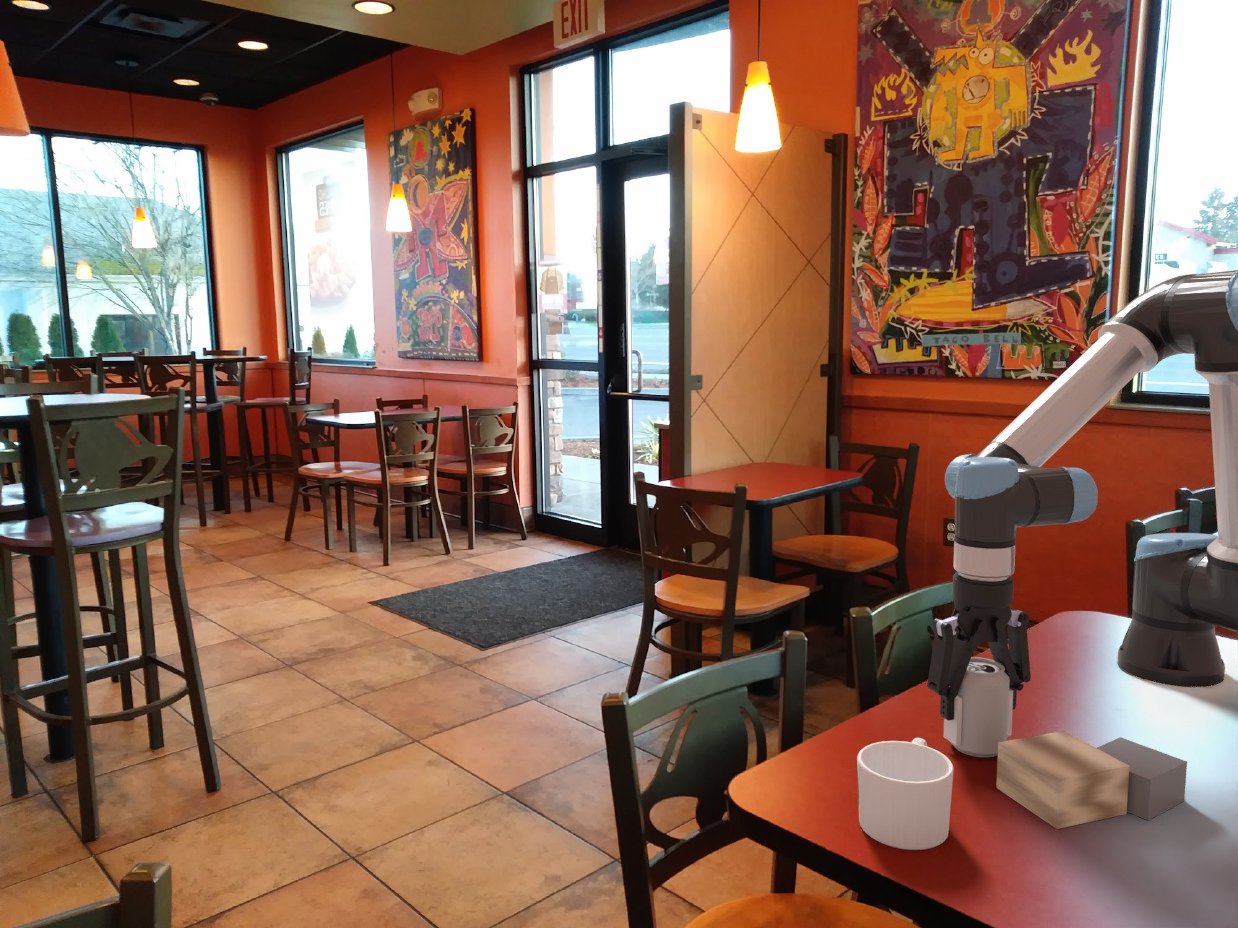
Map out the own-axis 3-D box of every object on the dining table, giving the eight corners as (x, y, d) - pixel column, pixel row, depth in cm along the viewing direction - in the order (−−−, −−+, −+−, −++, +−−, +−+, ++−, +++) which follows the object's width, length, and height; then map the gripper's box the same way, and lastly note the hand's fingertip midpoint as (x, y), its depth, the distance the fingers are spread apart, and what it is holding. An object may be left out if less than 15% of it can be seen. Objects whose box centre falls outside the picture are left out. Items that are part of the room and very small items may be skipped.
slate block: (1118, 774, 114) (1120, 737, 114) (1184, 800, 107) (1187, 761, 107) (1081, 791, 110) (1083, 753, 109) (1148, 820, 103) (1150, 779, 103)
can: (1012, 762, 118) (1016, 675, 116) (952, 758, 120) (955, 672, 118) (1000, 737, 125) (1003, 655, 124) (944, 733, 127) (946, 652, 125)
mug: (939, 862, 96) (942, 792, 95) (844, 835, 102) (844, 769, 101) (965, 806, 107) (967, 742, 106) (877, 785, 113) (879, 724, 112)
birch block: (1062, 774, 114) (1064, 730, 113) (1126, 813, 105) (1129, 765, 104) (996, 787, 112) (998, 742, 111) (1056, 828, 102) (1059, 779, 101)
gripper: (1026, 560, 125) (1019, 715, 129) (900, 574, 120) (896, 735, 123) (1066, 573, 118) (1058, 736, 121) (935, 588, 113) (930, 759, 116)
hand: (977, 736), depth 122 cm, fingers closed on can, 7 cm apart
